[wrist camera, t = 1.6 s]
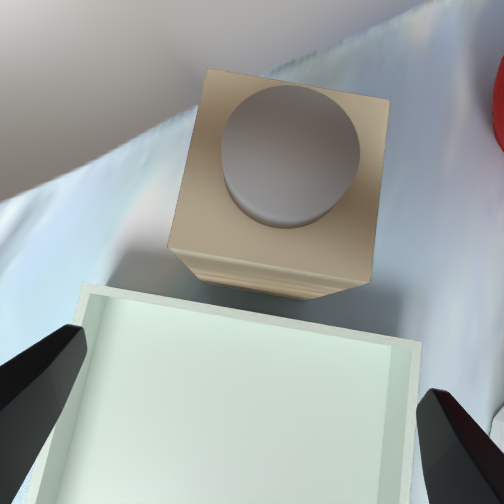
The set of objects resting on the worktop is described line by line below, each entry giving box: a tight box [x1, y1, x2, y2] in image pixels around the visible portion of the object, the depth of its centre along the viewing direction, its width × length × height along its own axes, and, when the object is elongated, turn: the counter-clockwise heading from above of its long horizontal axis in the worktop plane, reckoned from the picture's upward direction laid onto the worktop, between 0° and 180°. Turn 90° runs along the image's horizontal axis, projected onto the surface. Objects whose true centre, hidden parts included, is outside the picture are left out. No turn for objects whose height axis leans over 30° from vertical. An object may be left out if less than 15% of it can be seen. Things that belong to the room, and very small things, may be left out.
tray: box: [24, 282, 422, 504], centre depth 19 cm, size 16×18×3 cm
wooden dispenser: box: [167, 68, 390, 301], centre depth 16 cm, size 6×6×12 cm
